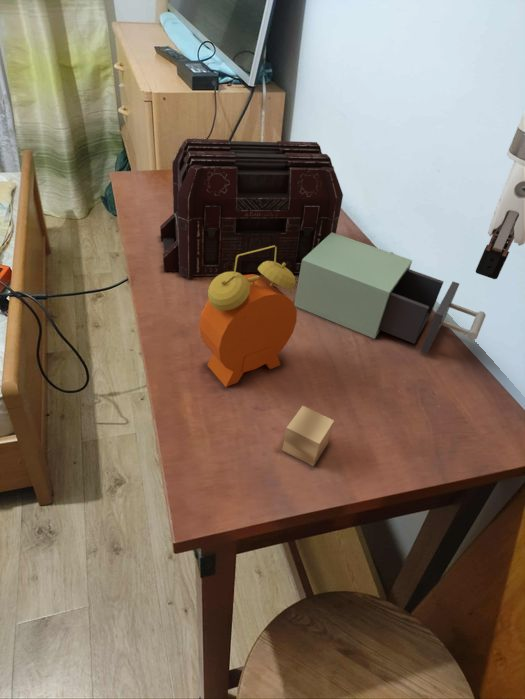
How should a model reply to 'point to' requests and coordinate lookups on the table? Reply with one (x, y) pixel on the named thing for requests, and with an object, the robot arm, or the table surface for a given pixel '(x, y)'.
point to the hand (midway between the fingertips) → (486, 273)
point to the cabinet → (349, 282)
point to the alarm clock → (247, 319)
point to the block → (307, 435)
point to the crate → (248, 205)
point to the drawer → (422, 309)
